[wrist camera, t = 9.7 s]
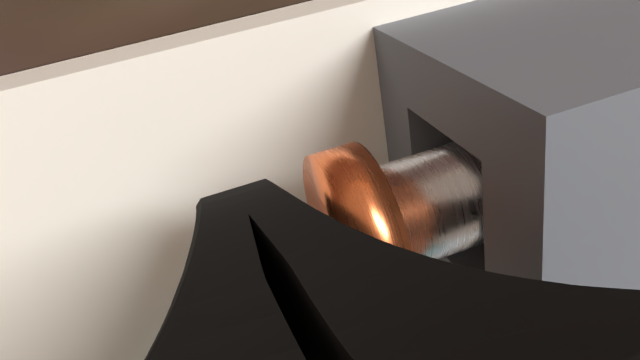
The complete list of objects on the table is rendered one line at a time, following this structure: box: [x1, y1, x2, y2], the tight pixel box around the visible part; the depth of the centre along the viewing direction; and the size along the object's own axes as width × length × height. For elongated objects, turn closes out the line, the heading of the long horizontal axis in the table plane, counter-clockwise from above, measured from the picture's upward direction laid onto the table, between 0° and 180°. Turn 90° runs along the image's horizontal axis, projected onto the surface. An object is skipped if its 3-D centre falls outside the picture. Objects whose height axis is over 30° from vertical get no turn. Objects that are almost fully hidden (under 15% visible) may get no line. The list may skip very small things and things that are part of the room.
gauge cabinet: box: [373, 0, 640, 290], centre depth 11 cm, size 6×5×5 cm
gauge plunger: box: [303, 142, 484, 259], centre depth 10 cm, size 6×3×3 cm, turn 100°
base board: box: [0, 0, 475, 360], centre depth 14 cm, size 19×13×1 cm
